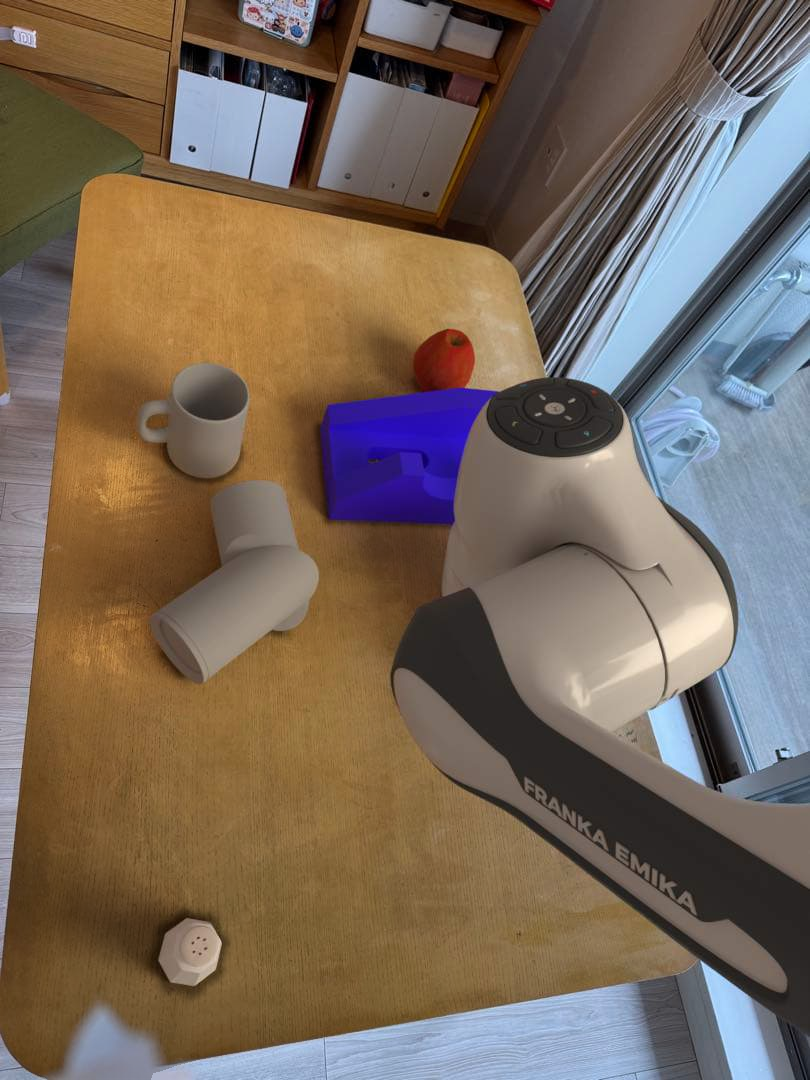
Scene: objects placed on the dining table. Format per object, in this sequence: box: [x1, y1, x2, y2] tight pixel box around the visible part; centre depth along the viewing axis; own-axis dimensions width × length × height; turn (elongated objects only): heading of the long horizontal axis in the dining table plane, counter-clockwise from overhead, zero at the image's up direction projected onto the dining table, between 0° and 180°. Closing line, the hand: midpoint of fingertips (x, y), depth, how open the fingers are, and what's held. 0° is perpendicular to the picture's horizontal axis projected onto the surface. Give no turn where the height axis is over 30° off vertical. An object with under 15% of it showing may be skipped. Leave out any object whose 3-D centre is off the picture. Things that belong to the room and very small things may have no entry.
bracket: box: [319, 387, 500, 525], centre depth 96 cm, size 21×14×10 cm, turn 98°
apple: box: [412, 328, 476, 392], centre depth 105 cm, size 8×8×11 cm
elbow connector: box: [148, 479, 320, 685], centre depth 81 cm, size 18×10×20 cm
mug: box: [136, 362, 251, 479], centre depth 88 cm, size 12×8×11 cm
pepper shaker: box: [157, 917, 223, 987], centre depth 63 cm, size 5×5×11 cm
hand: (483, 667), depth 63 cm, fingers open, 8 cm apart
